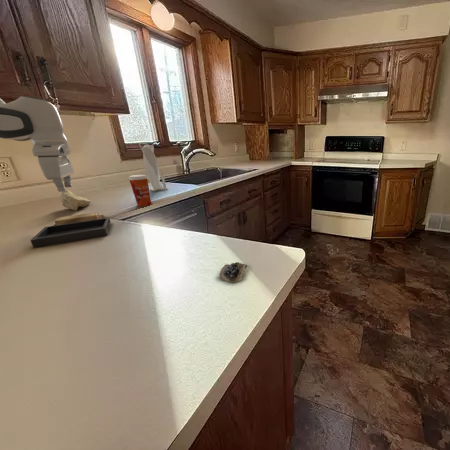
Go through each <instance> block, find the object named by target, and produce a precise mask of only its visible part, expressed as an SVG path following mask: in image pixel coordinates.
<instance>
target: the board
mask: <svg viewBox="0 0 450 450" xmlns="http://www.w3.org/2000/svg"><path fill="white" fill-rule="evenodd" d="M99 215H100V214H99V212H97V211H96V212H91V213H90V212H89V213H88V212H87V213H82V214H73V215H66V216H60V217H59V216H58V217H57V218H56V219H55V220H54V223H55V224H56V225H62V224H68V223H75V222H82V221H89V220H96V219H98V218H99Z"/></svg>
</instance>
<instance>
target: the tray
mask: <svg viewBox="0 0 450 450" xmlns="http://www.w3.org/2000/svg"><path fill="white" fill-rule="evenodd" d="M54 225H55V224H54ZM54 225H49V226H44V227H43V228H42V229H41V230H40V231H39V232H38V233H37V234H36V235H34V236H33V237H32V238H31V239H30V243H31V246H32V247H33V249H38V248H42V247H43V248H44V247H49V246H54V245H61V244H67V243H72V242H78V241H83V240H88V239H95V238H100V237H105V236H108V234H109V231H110V228H111V226H112V222H111V218H110V217H103V218H102V219H96V220H89V221H82V222H75V223H68V224H62V225H55V226H54Z"/></svg>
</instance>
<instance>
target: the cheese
mask: <svg viewBox="0 0 450 450" xmlns="http://www.w3.org/2000/svg"><path fill="white" fill-rule="evenodd" d="M60 201H61V203H62V206H63V207H64V208H65V209H68V211H71V210H72V211H77V210H78V208H85V207H87V206H89V205H90V204H91V200H90V199H89V198H87V197H82V196H80V195H78V194H77V193H74V192H72V191H70V190H68V189H66V190H65V191H63V192H60Z"/></svg>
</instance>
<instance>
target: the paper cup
mask: <svg viewBox="0 0 450 450" xmlns="http://www.w3.org/2000/svg"><path fill="white" fill-rule="evenodd" d="M128 181H129V184H130V186H131V189H132V193H133V196H134V199H135V202H136V205H137V206H138V207H148V206H151V205H152V198H151V193H150V187H149V179H148V176H147V174H134V175H129V176H128Z"/></svg>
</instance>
